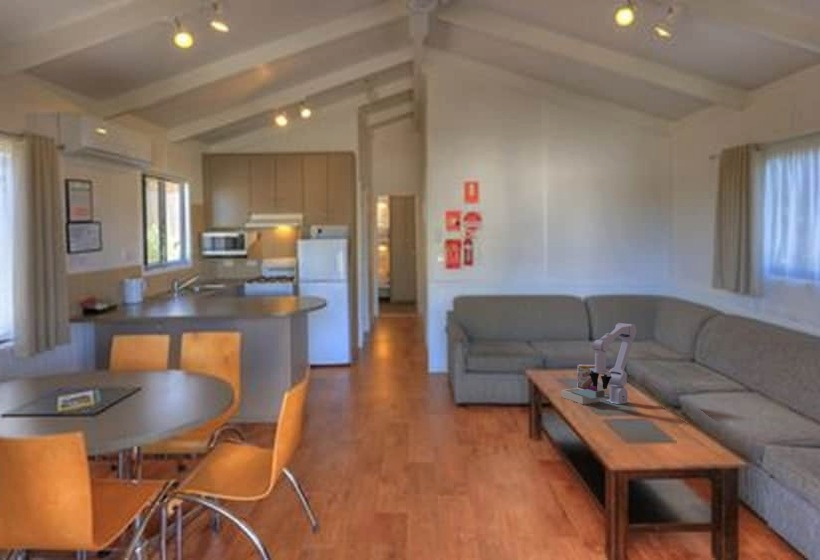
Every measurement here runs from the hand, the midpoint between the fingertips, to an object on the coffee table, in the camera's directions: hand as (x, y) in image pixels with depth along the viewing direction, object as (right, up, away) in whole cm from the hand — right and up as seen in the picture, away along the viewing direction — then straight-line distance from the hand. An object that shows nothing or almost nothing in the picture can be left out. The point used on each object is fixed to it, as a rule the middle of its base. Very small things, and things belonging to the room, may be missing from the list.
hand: (600, 387), depth 368 cm
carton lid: (-3, -5, +8) cm, 10 cm away
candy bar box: (+1, -9, +32) cm, 33 cm away
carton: (-7, -10, +15) cm, 19 cm away
